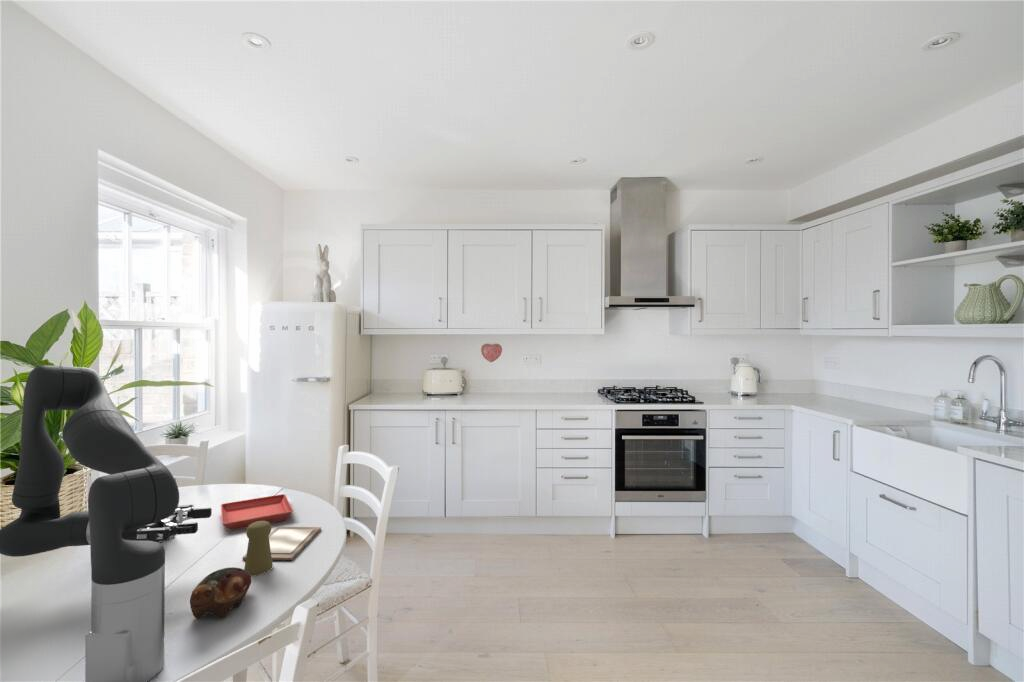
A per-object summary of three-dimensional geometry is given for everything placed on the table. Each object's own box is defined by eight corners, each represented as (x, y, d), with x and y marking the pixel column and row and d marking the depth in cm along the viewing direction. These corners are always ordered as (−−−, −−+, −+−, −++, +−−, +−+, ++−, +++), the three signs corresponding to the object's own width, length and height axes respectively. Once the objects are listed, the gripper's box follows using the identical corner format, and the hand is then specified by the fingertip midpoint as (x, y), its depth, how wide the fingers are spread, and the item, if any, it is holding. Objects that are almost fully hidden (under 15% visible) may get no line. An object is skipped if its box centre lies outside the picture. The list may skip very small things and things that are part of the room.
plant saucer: (220, 513, 143) (220, 503, 143) (285, 503, 153) (285, 493, 153) (222, 535, 128) (222, 523, 128) (293, 522, 138) (293, 511, 138)
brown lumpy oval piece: (169, 634, 85) (170, 590, 86) (219, 594, 101) (219, 556, 101) (223, 632, 86) (223, 587, 86) (265, 592, 101) (264, 554, 101)
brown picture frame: (291, 560, 114) (291, 556, 114) (242, 560, 113) (242, 556, 113) (320, 529, 132) (321, 526, 132) (278, 529, 131) (278, 525, 131)
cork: (260, 577, 106) (260, 529, 106) (237, 574, 107) (237, 526, 107) (278, 564, 112) (279, 519, 112) (256, 561, 113) (257, 516, 113)
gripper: (101, 522, 95) (192, 515, 99) (137, 497, 109) (215, 492, 113) (101, 558, 95) (192, 550, 100) (136, 528, 109) (214, 523, 113)
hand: (204, 519), depth 106 cm, fingers open, 8 cm apart
